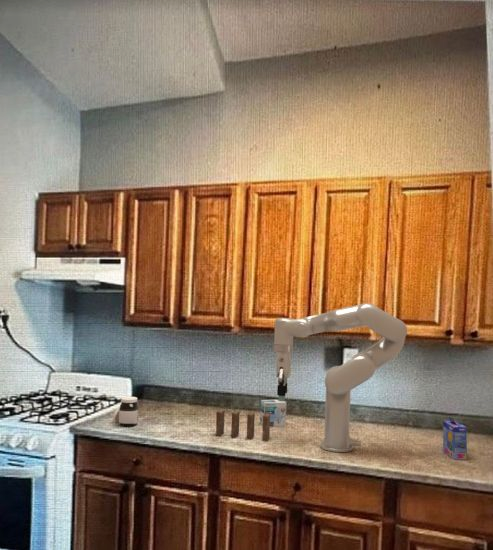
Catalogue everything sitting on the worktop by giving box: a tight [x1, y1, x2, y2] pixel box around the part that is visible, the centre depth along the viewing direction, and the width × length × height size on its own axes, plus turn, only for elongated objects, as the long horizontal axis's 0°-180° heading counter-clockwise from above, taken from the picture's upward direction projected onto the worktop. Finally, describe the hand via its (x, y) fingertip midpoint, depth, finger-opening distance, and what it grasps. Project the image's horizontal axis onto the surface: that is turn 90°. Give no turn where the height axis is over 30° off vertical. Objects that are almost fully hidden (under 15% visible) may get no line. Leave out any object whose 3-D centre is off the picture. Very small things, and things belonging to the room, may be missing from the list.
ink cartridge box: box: [442, 416, 468, 461], centre depth 197 cm, size 10×6×14 cm, turn 2°
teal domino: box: [278, 376, 286, 401], centre depth 207 cm, size 2×5×10 cm, turn 169°
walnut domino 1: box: [215, 408, 226, 437], centre depth 215 cm, size 2×5×10 cm, turn 167°
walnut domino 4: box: [261, 413, 271, 442], centre depth 210 cm, size 2×5×10 cm, turn 167°
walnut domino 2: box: [230, 410, 240, 439], centre depth 213 cm, size 2×5×10 cm, turn 167°
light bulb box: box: [259, 399, 287, 428], centre depth 234 cm, size 11×7×11 cm, turn 105°
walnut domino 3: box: [246, 411, 256, 441], centre depth 212 cm, size 2×5×10 cm, turn 167°
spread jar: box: [112, 396, 139, 428], centre depth 227 cm, size 12×11×12 cm
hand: (282, 393), depth 207 cm, fingers closed on teal domino, 4 cm apart
